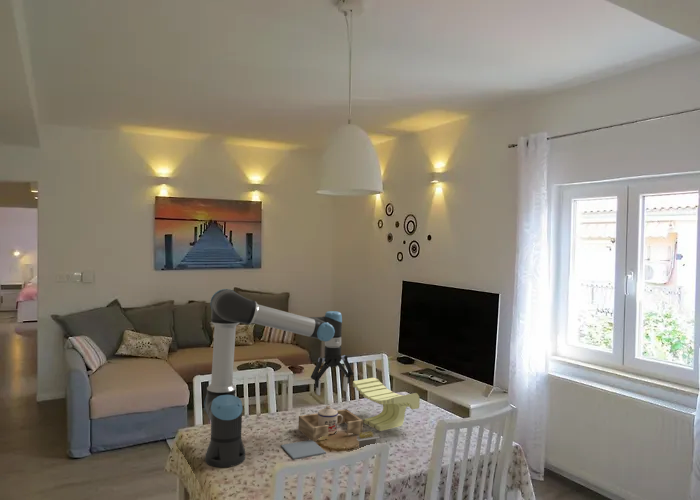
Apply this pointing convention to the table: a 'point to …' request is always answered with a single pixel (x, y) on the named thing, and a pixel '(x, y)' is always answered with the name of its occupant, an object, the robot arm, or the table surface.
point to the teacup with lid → (329, 418)
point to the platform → (366, 439)
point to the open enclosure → (313, 431)
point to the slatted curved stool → (386, 403)
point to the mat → (303, 449)
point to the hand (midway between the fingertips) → (331, 392)
